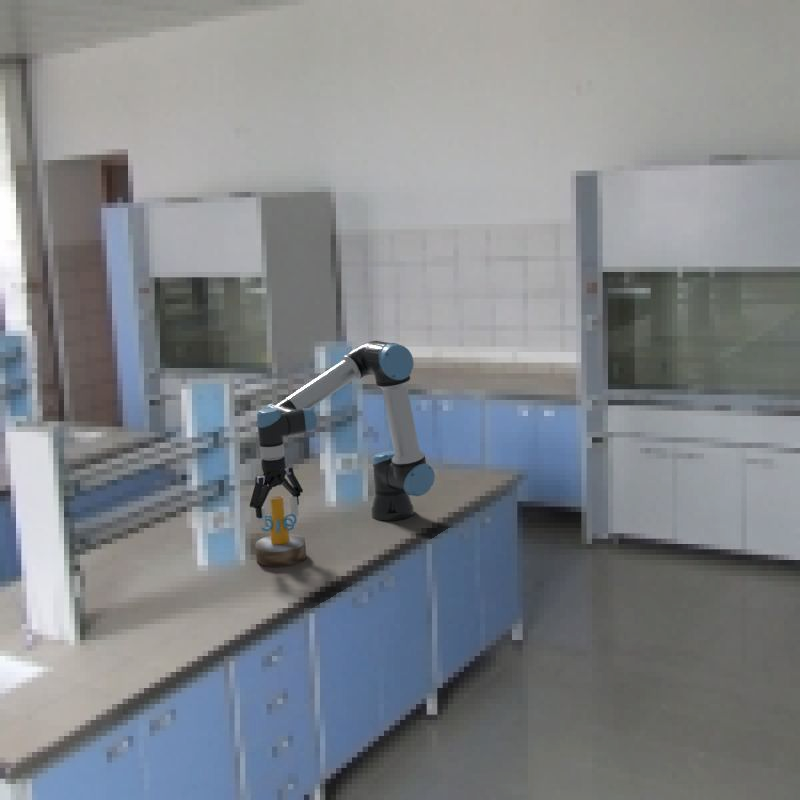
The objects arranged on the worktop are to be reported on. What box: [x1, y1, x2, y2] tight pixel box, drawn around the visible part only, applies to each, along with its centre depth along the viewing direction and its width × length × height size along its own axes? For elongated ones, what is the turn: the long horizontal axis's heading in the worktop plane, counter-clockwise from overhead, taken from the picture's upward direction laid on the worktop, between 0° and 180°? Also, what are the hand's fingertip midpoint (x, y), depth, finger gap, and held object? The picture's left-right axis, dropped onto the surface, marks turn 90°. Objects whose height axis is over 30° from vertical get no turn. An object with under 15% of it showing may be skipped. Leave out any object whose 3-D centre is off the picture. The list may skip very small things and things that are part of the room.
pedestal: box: [254, 533, 307, 568], centre depth 348 cm, size 16×16×6 cm
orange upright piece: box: [260, 494, 298, 545], centre depth 346 cm, size 12×10×15 cm
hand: (279, 521), depth 346 cm, fingers open, 13 cm apart
